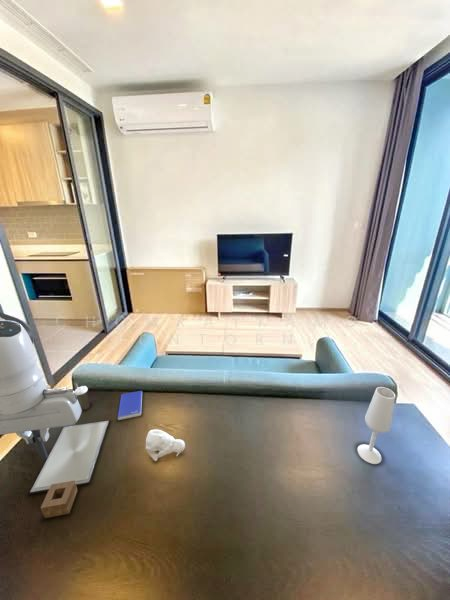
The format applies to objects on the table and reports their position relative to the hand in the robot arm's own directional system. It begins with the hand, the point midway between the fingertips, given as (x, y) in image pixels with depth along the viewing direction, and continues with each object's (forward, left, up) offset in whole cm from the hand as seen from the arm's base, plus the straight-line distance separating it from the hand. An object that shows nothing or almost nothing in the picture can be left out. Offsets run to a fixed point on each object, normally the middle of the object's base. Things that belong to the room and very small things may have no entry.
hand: (38, 440), depth 58 cm
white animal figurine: (+27, +10, -23) cm, 37 cm away
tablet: (-2, +15, -23) cm, 27 cm away
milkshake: (-6, +36, -23) cm, 43 cm away
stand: (0, 0, -23) cm, 23 cm away
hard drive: (+12, +33, -23) cm, 42 cm away
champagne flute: (+90, -2, -23) cm, 93 cm away
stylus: (0, 0, -6) cm, 6 cm away
